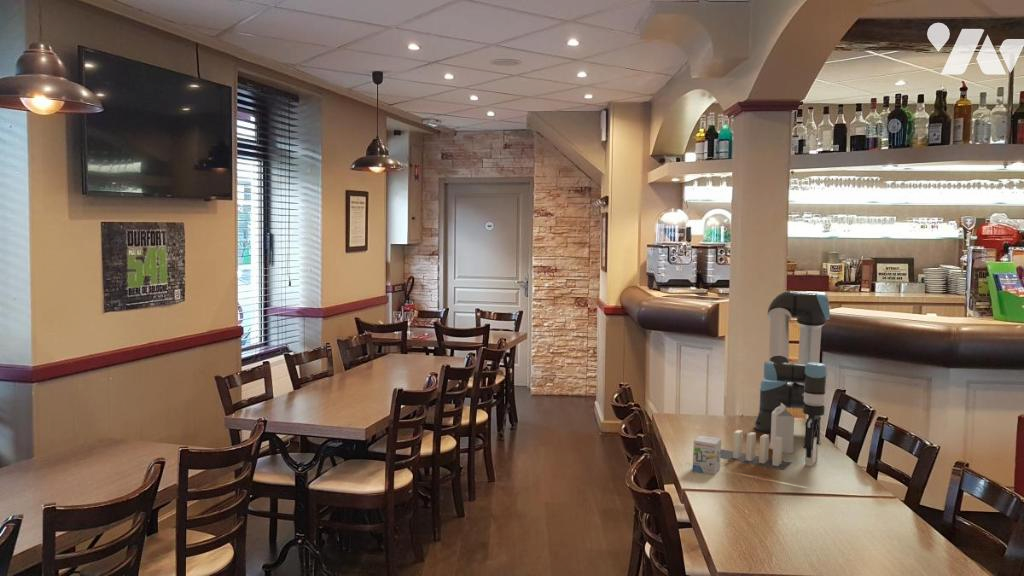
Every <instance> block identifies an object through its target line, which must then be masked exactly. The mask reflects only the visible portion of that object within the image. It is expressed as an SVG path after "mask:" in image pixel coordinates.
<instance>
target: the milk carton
mask: <svg viewBox="0 0 1024 576" xmlns="http://www.w3.org/2000/svg"><path fill="white" fill-rule="evenodd" d="M794 432H795V416H794V415H793V414H792V413H790V411H789V410H788V409H787V410H786V406H785V405H783V404H782V403H781V405H780V406H779V407H777V408H775V410H774V411H773V412H772V419H771V433H770V442H769V444H770V445H769V446H770V448H769V449H771V450H772V451H773V439H774V438H776V437H777V436H779V437H783V439H782V453H785V454H787V453H789V454H793V453H794V434H795V433H794Z"/></svg>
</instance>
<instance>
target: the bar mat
mask: <svg viewBox="0 0 1024 576" xmlns="http://www.w3.org/2000/svg"><path fill="white" fill-rule="evenodd" d="M720 459H722V460H728V461H734V462H738V463H744V464H750V465H754V466H760V467H766V468H771V469H776V470H781V471H784V470H786V469H787V468H788V467H789V466H790V465H792V463H793V462H792V461H786V460H782V463H781V464H780V465H779V466H774V465H772V461H773V458H771V457H768V461H767V462H766V463H759V455H755V458H754V459H753V460H752V461H748V460H746V453H743V452H742V456H741V457H740V458H738V459H737V458H733V450H732V451H731V450H726V449H722V448H721V456H720Z"/></svg>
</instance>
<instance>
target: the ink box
mask: <svg viewBox="0 0 1024 576" xmlns="http://www.w3.org/2000/svg"><path fill="white" fill-rule="evenodd" d="M721 449H722V439H721V438H718V437H711V436H705V435H704V436H703V435H698V436H697V437H696V438H695V439H694V440H693V451H692V452H693V453H692V470H691V471H692V472H695V473H701V474H707V475H713V476H716V475H717V473H718V472H720V469H721V458H720V456H721Z"/></svg>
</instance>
